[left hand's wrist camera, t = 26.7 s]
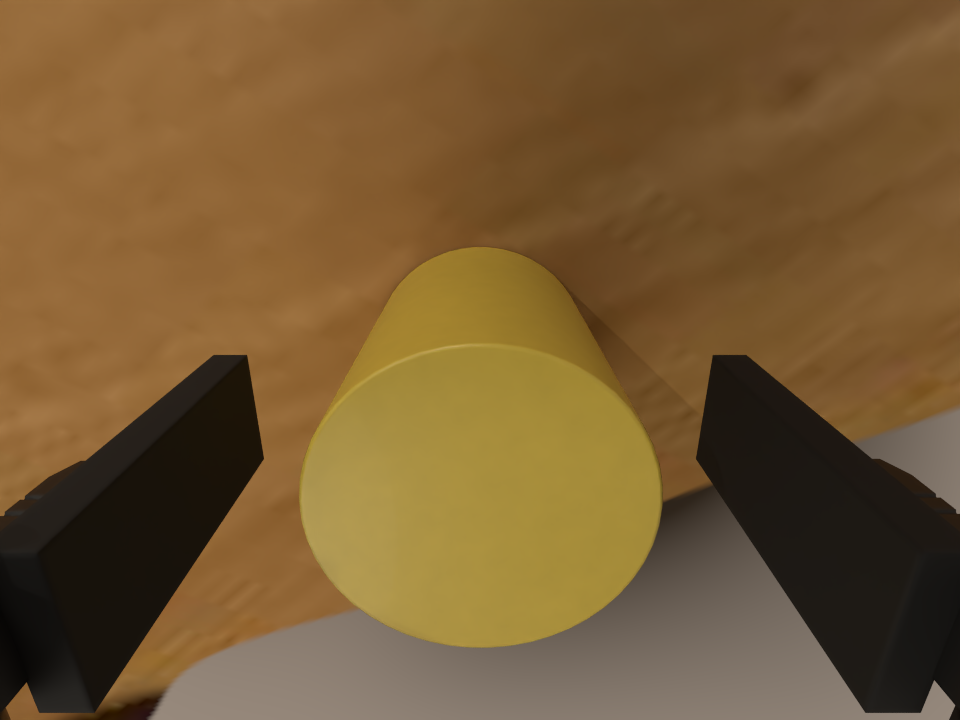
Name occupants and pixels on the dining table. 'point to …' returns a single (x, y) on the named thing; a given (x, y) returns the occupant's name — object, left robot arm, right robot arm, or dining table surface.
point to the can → (480, 461)
